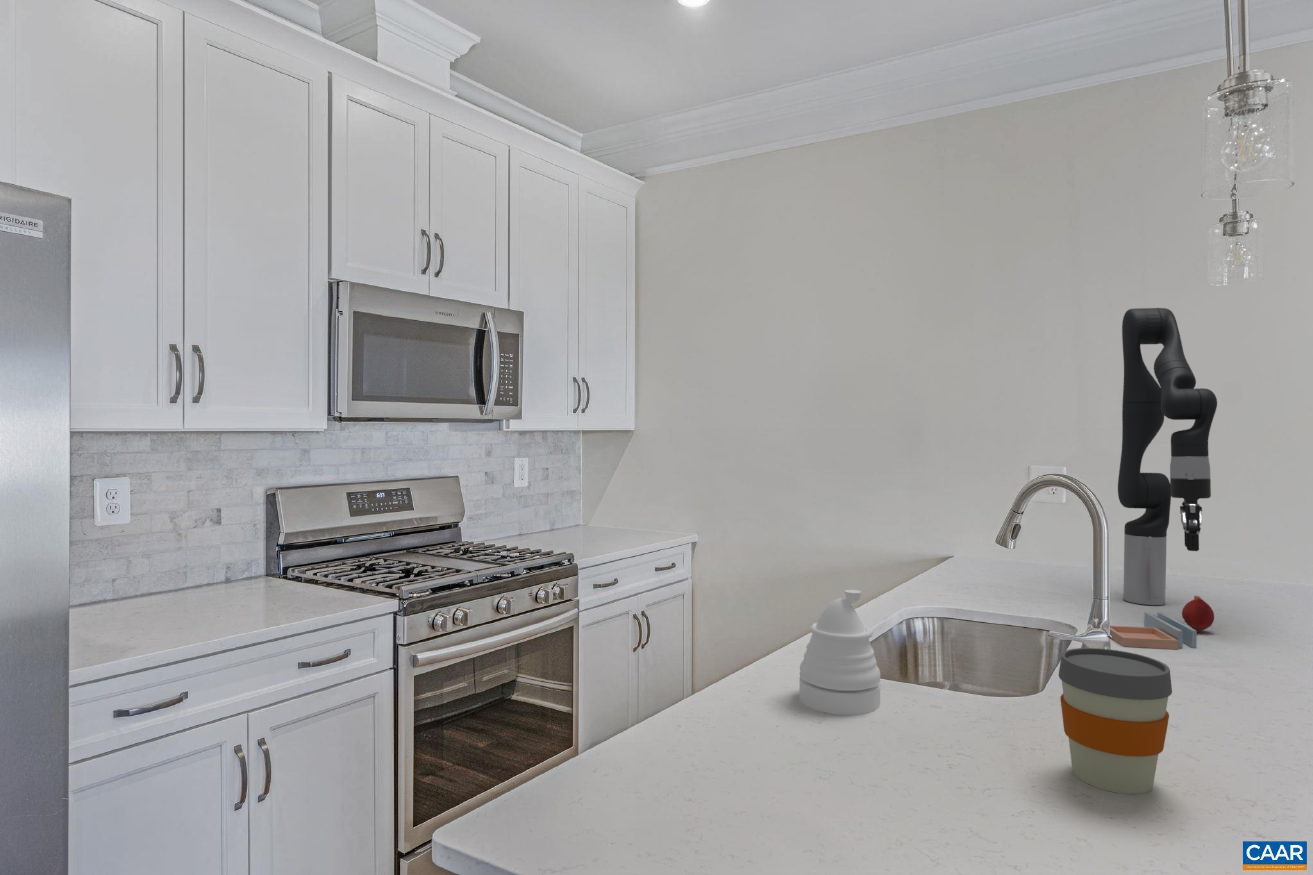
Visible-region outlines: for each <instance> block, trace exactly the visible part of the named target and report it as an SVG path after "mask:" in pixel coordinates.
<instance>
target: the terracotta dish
mask: <svg viewBox="0 0 1313 875" xmlns="http://www.w3.org/2000/svg"><path fill="white" fill-rule="evenodd" d="M1110 635H1111V636H1112V639H1111V640H1113V641H1115V642H1116V643H1117V644H1119V645H1120V646H1121V647H1125V648H1146V649H1161V650H1162V649H1163V650H1179V648H1178V640H1176V639H1175V638H1173V637H1171V636H1169V635H1167V634H1166V633H1164V632H1162V631H1160V630H1159V629H1157V628H1150V627H1144V626H1127V625H1126V626H1125V625H1110Z"/></svg>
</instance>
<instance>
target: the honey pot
mask: <svg viewBox="0 0 1313 875" xmlns="http://www.w3.org/2000/svg"><path fill="white" fill-rule="evenodd" d="M844 595H845V598H843V597H842V598H841V597H840V598H835V599H833V600H831V601H830V603H828V604H827V605H826V607H825V608H824V610H823V611H822V613H821V614H820V617H819V619H818V621H817V622H814V623H812V625H810V632H811V633H812V634H811V636H810V639H809V642H808V643H807V644H806V647H805V648H806V651H805V653H804V654H803V660H802V661H801V662H800V665H799V688H798V689H799V691H798V692H799V694H798V695H799V700H800V702H801V703H802V704H803V705H804V706H806V707H807V708H810V709H812V710H815V711H819V712H823V713H827V714H832V715H841V716H842V715H843V716H857V715H859V716H860V715H864V714H869V713H874V712H875V711H876V710H878V709H880V706H881V670H880V668H879V667H878V665H877V659H876V657H875V651H874V650H875V649H874V648H873V647H872V646H871V643H870V638H872V637H873V635H874V630H873V629H872V628H871V627H869V626H868V625H865V624H864V623H863V622H862V620H861V618H860V616H859V614H858V612H857V610H856V609H855V607H854V606H853V604H857V603H858V602H859V601H860V598H861V596H862V591H861V590H858V589H846V590H844Z"/></svg>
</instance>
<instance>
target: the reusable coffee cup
mask: <svg viewBox="0 0 1313 875" xmlns="http://www.w3.org/2000/svg"><path fill="white" fill-rule="evenodd" d="M1059 663H1060V664H1059V669H1058V678H1059V679H1060V680H1061V686H1062V694H1061V696H1060V707H1061V714H1062V724H1063V731H1064V734H1065V736H1067V738H1068V745H1069V752H1070V754H1069V755H1070V760H1071V761H1070V762H1071V770H1072V773H1073V775H1074V776H1075V777H1076V778H1078V780H1080V781H1081V782H1083V783H1084V784H1087V785H1089V786H1091V787H1094V788H1097V789H1101V790H1104V791H1107V792H1113V793H1116V794H1123V795H1125V794H1126V795H1141V794H1145V793H1149V792H1150V791H1152V790H1153V788H1154V784H1155V783H1154V782H1155V776H1156V771H1157V765H1158V760H1159V754H1161V753H1162V752H1163V751H1164V748H1165V743H1166V736H1167V732H1168V731H1167V729H1168V725H1169V719H1170V714H1169V712H1168V711H1167V708H1168V707H1167V706H1168V702H1169V697H1171V695H1172V694H1173V688H1172V677H1171V670H1170V667H1169V666H1168V665H1167V664H1165V663H1163V661H1160V660H1157V659H1155V658H1152V657H1149V656H1145V655H1142V654H1138V653H1134V652H1128V651H1124V650H1118V649H1109V648H1099V647H1080V648H1079V647H1078V648H1077V647H1076V648H1071V649H1070V648H1069V649H1065V650H1064V651H1063V652H1062V653H1061V655H1060V662H1059Z"/></svg>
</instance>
